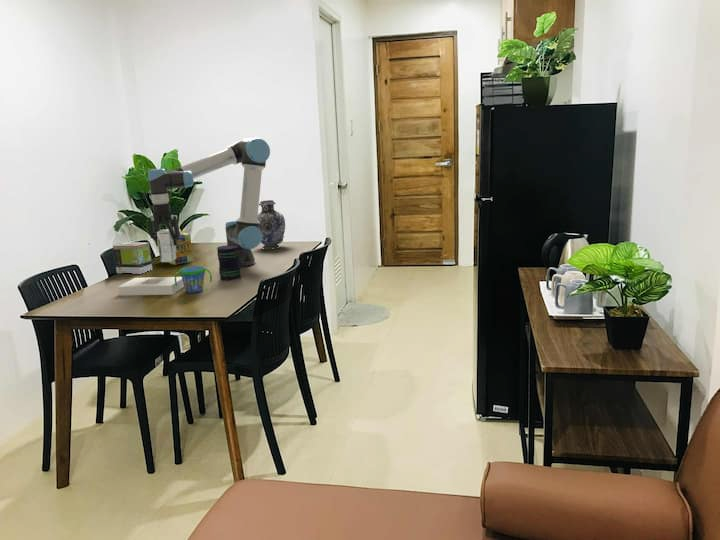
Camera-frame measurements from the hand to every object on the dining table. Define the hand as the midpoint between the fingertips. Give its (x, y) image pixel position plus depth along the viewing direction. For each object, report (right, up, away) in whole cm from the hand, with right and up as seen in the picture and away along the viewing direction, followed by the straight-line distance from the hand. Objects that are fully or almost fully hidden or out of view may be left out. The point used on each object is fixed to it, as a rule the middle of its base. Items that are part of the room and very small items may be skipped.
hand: (167, 252), depth 278 cm
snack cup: (+17, -18, -17) cm, 30 cm away
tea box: (-26, -9, +27) cm, 38 cm away
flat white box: (-2, -17, -13) cm, 21 cm away
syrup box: (0, -4, +1) cm, 4 cm away
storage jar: (+28, -12, +4) cm, 31 cm away
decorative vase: (+37, +4, +75) cm, 83 cm away
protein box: (-10, -4, +48) cm, 49 cm away
